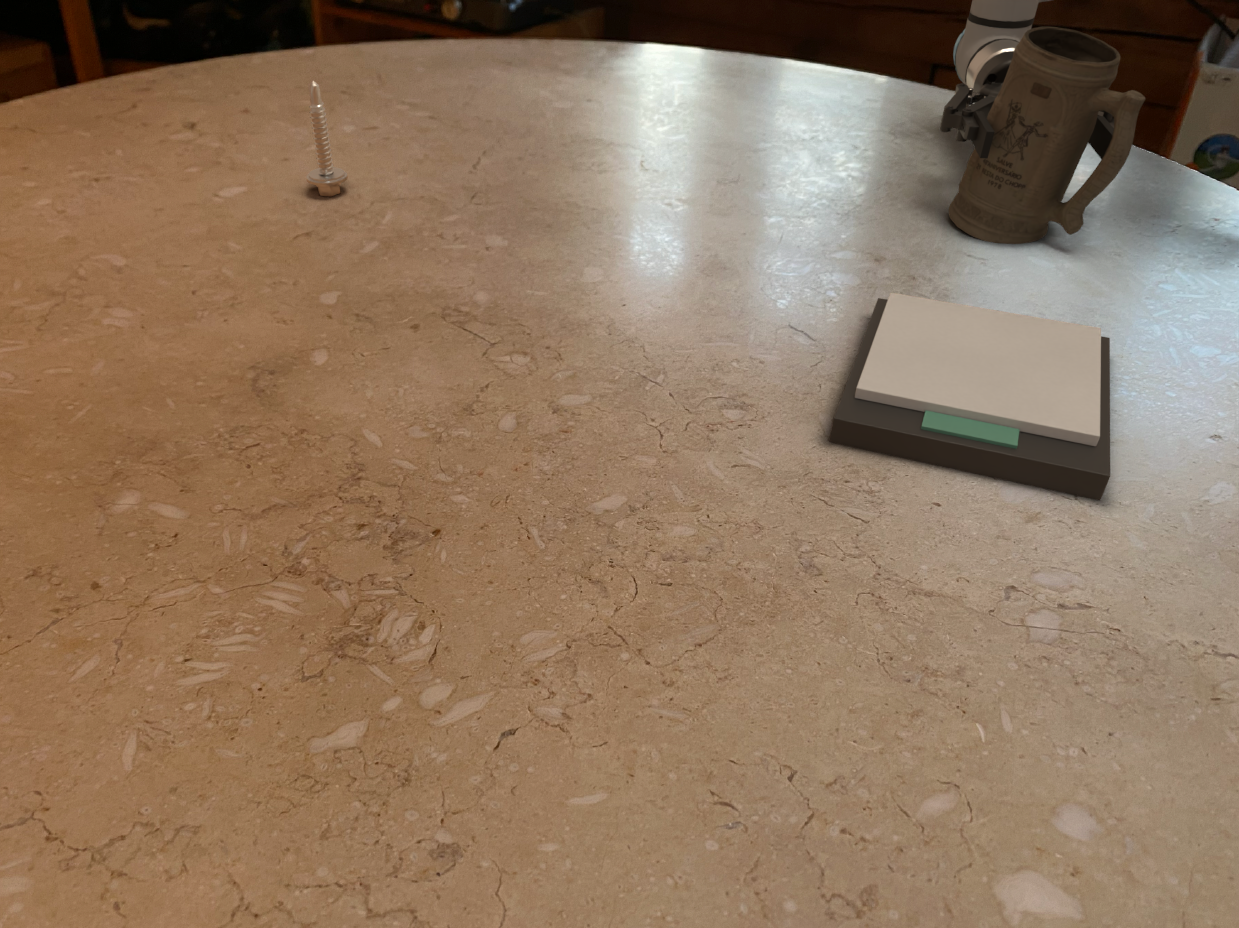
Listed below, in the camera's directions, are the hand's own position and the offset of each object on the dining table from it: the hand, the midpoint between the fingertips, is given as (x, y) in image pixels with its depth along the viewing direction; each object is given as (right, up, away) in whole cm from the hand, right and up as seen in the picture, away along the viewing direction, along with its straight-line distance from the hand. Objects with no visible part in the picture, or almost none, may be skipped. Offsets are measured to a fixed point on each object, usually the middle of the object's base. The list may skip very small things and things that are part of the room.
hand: (1049, 148), depth 105 cm
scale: (-15, -28, -17) cm, 36 cm away
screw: (-77, +1, +20) cm, 80 cm away
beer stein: (+1, -6, +10) cm, 11 cm away
